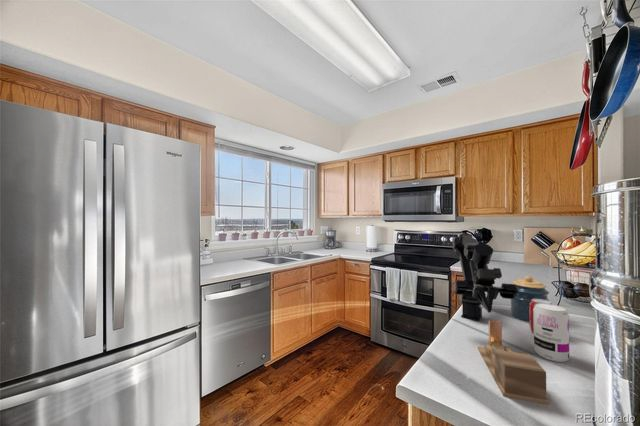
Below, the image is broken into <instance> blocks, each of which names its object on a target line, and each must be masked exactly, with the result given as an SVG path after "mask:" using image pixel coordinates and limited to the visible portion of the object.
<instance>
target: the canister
mask: <svg viewBox="0 0 640 426" xmlns="http://www.w3.org/2000/svg"><path fill="white" fill-rule="evenodd" d="M511 282H512V283H511V284H515V285H516V286H517V288H518V293H517V294H516V296H515V298H514V299H510V314H511V316H513V317H514V318H517V319H519V320H522V321H527V322H530V316H529V307H530V303H531V301H532V299H543V300H548V301H550V300H549V298H548V297H549V296H548V295H549V294H550V292H549V290H547V289H546V288H547V285H545V284H544V283H542V282H541V281H539V280H535V279H533V277H532V276H530V275H526V276H525V277H524V279H523V278H518V279H516V280H514V281H511Z"/></svg>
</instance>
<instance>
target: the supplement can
mask: <svg viewBox="0 0 640 426" xmlns="http://www.w3.org/2000/svg"><path fill="white" fill-rule="evenodd" d="M569 317H570V315H569V313H568V311H567V310H566V308H565V307H562V306H560V305H555V304H553V303H552V304H544V303H538V304H536V306H535V307H534V309H533V330H534V332H533V351H534V352H535V353H536V354H537V355H538V356H540V357H541V358H543V359H546V360H548V361H552V362H557V363H565V362H567V361H569V360H570V320H569V319H570V318H569Z"/></svg>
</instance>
